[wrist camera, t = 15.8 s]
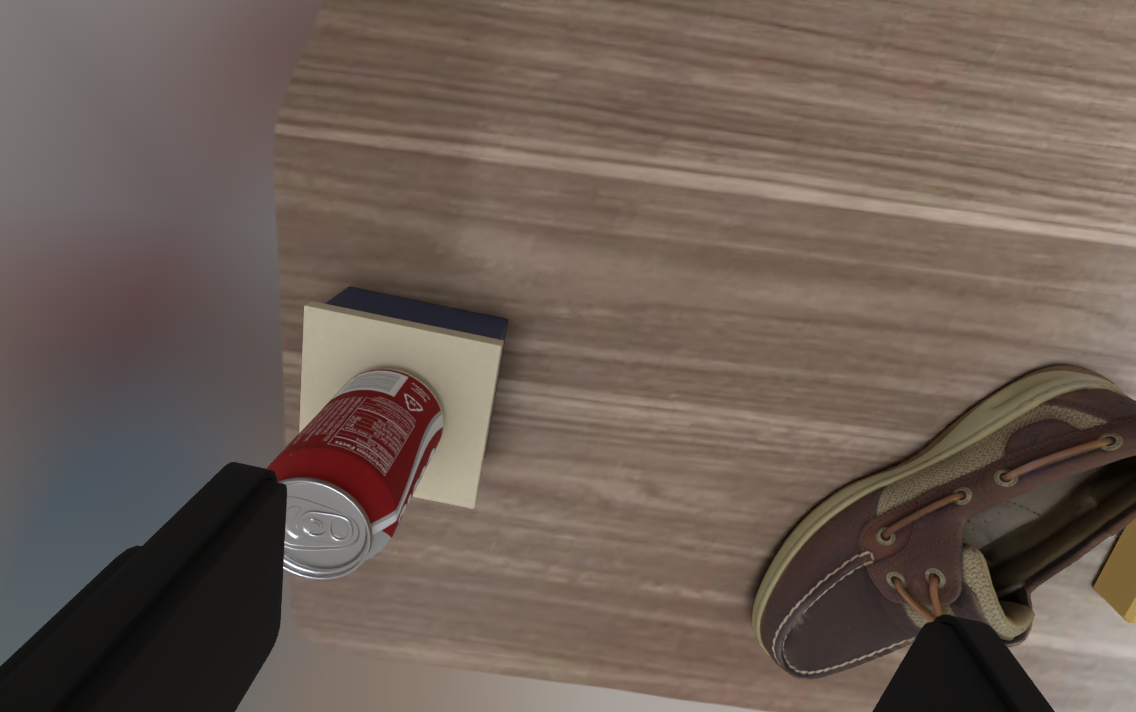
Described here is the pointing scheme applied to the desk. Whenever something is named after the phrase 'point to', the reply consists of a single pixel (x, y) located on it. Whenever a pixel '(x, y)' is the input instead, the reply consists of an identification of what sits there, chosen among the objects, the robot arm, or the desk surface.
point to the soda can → (356, 471)
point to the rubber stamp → (1121, 575)
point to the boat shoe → (955, 526)
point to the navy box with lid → (412, 372)
